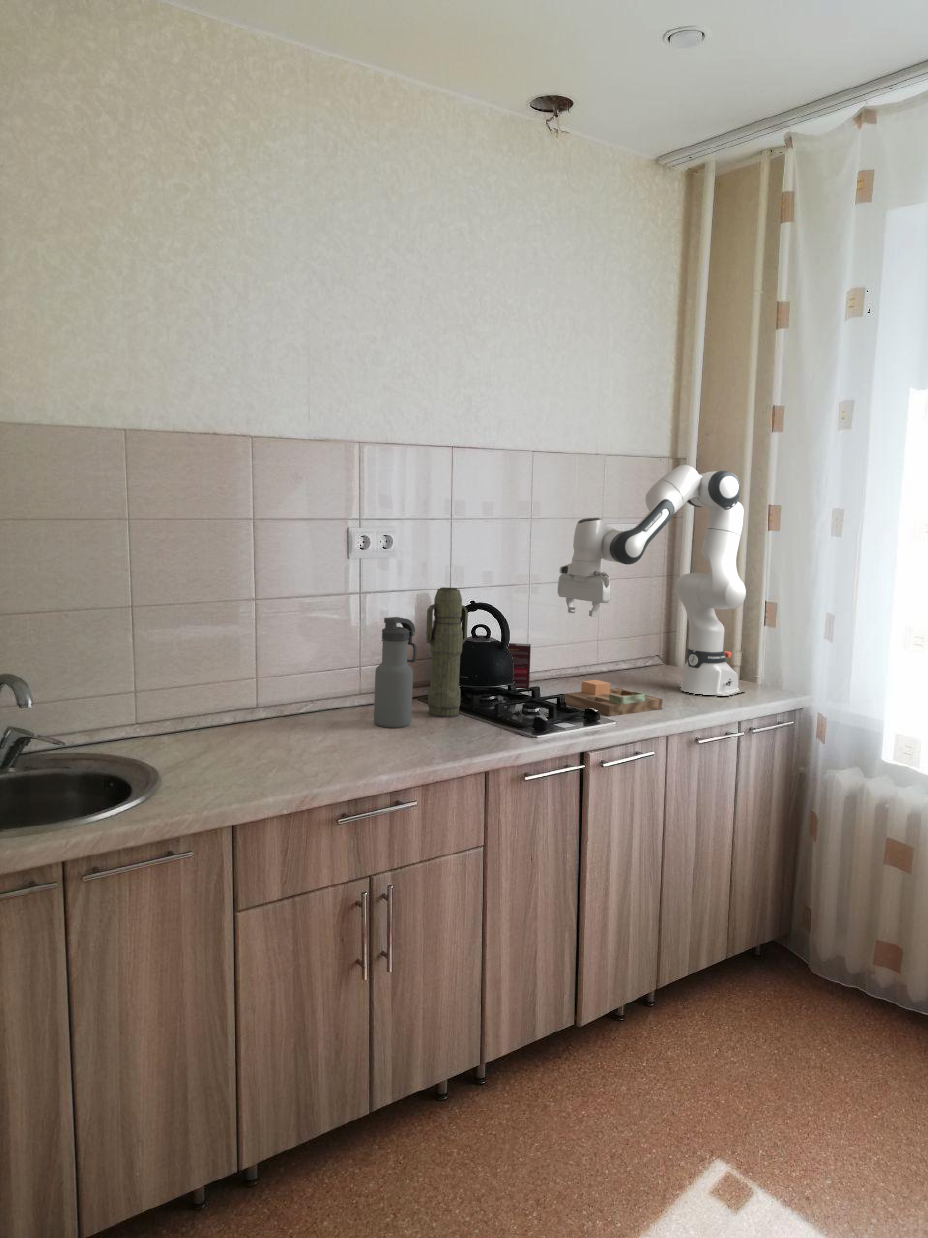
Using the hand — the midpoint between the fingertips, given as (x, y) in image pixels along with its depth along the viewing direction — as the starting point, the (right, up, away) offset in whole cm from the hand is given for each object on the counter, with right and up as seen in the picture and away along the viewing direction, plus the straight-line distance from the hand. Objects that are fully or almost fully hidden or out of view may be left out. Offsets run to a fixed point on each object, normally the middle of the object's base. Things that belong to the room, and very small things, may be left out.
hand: (581, 614), depth 287 cm
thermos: (-42, -28, -31) cm, 59 cm away
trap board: (+8, -27, -11) cm, 30 cm away
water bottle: (-55, -29, -45) cm, 77 cm away
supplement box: (-21, -25, +1) cm, 32 cm away
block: (+3, -24, -7) cm, 25 cm away
